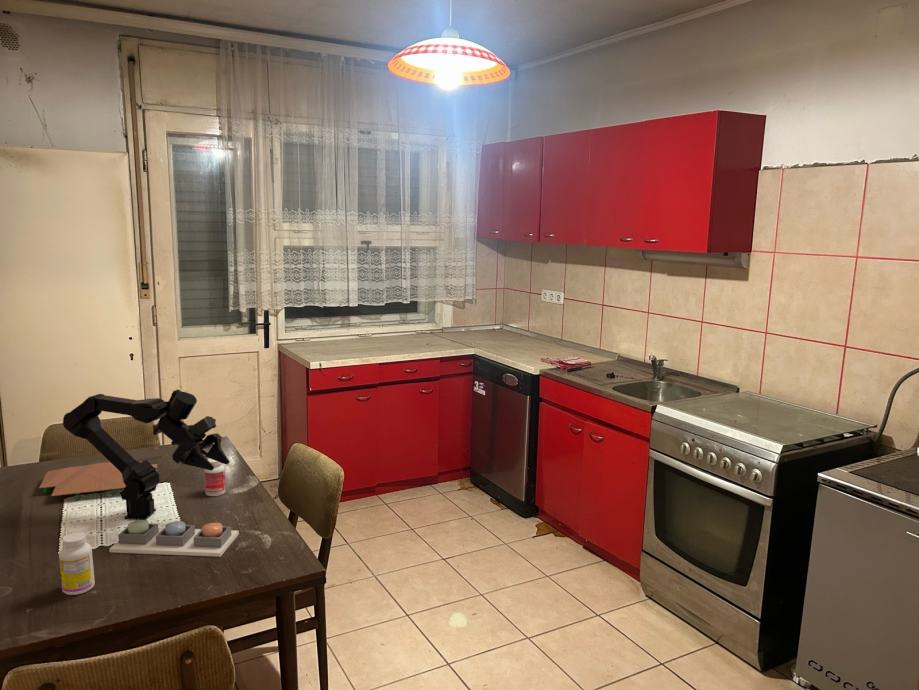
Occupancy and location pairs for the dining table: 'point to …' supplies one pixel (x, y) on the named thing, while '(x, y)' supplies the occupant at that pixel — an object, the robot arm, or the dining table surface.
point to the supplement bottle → (76, 564)
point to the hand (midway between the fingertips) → (221, 466)
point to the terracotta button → (212, 530)
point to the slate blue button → (175, 528)
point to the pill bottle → (215, 479)
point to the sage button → (138, 527)
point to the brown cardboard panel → (84, 479)
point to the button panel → (174, 542)
